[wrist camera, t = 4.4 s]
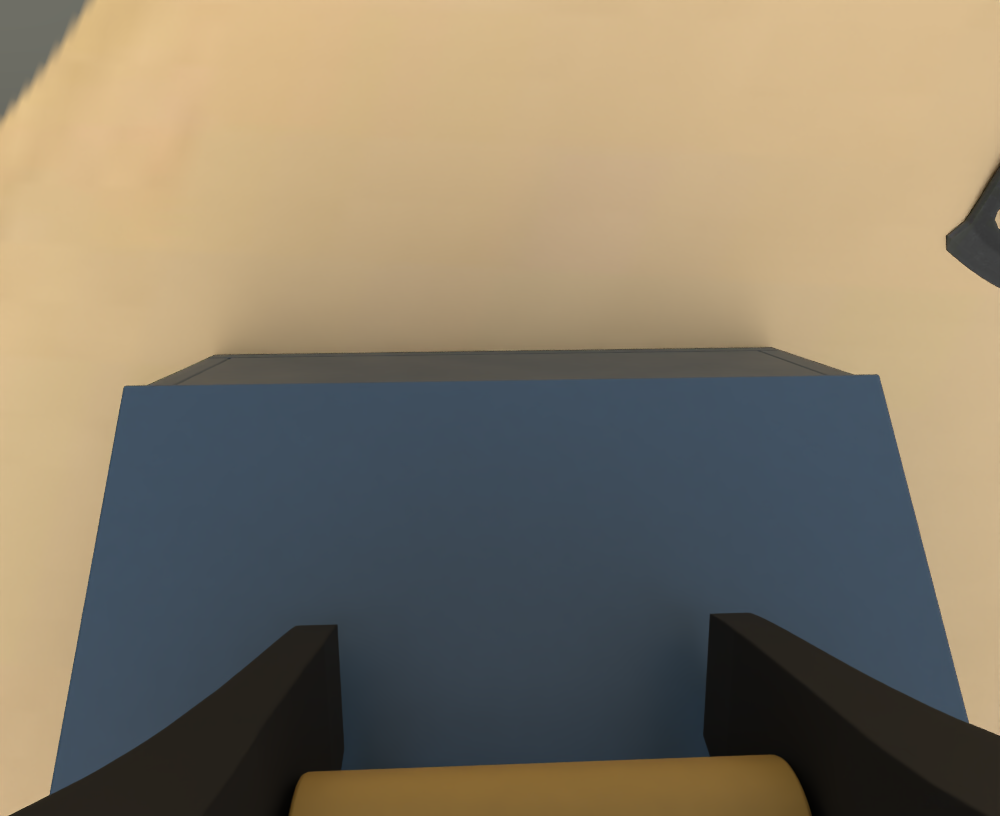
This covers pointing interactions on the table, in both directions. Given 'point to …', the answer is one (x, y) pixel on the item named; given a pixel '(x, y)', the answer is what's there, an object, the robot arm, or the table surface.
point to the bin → (495, 366)
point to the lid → (502, 577)
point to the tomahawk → (980, 235)
